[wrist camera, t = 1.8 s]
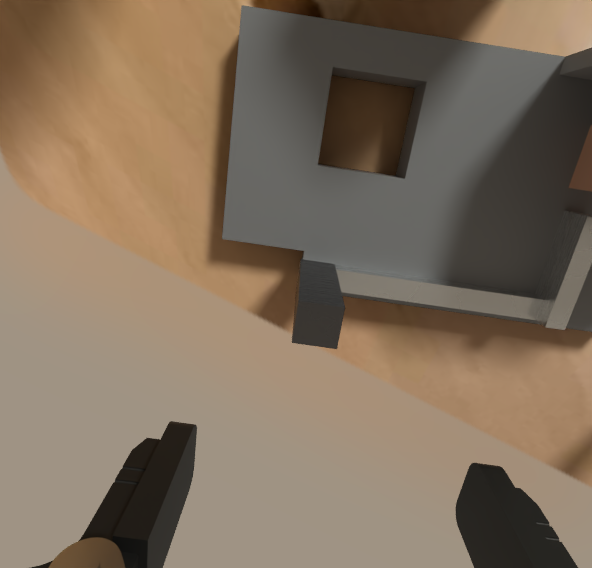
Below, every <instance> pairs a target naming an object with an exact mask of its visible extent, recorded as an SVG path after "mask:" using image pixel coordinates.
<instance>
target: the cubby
mask: <svg viewBox="0 0 592 568" xmlns="http://www.w3.org/2000/svg"><path fill="white" fill-rule="evenodd" d="M332 75H334V76H340V77H347V78H353V79H360V80H366V81H373V82H379V83H385V84H392V85H398V86H405V87H411V88H415V90H414V94H413V99H412V104H411V108H410V113H409V117H408V122H407V126H406V131H405V136H404V140H403V145H402V149H401V154H400V159H399V163H398V168H397V172H396V176H394V175H388V174H381V173H375V172H368V171H361V170H355V169H348V168H341V167H335V166H328V165H322V164H318V160H319V154H320V147H321V141H322V134H323V128H324V121H325V115H326V108H327V102H328V95H329V89H330V82H331V76H332ZM591 125H592V48H589V49H586V50H584V51H581V52H578V53H575V54H572V55H569V56H566V57H563V56H557V55H551V54H544V53H538V52H532V51H525V50H519V49H513V48H507V47H500V46H494V45H488V44H481V43H475V42H469V41H462V40H456V39H450V38H444V37H437V36H431V35H425V34H418V33H412V32H406V31H400V30H393V29H387V28H381V27H374V26H368V25H362V24H356V23H349V22H343V21H337V20H330V19H324V18H318V17H312V16H305V15H299V14H293V13H286V12H280V11H274V10H268V9H261V8H255V7H249V6H242V8H241V20H240V32H239V44H238V56H237V68H236V80H235V92H234V104H233V115H232V127H231V139H230V151H229V163H228V175H227V187H226V199H225V210H224V222H223V234H222V239H225V240H232V241H239V242H246V243H253V244H260V245H267V246H273V247H280V248H287V249H294V250H301V251H303V256H302V259H304V260H311V261H318V262H325V263H332V264H335V265H339V266H346V267H353V268H360V269H366V270H373V271H380V272H387V273H394V274H401V275H408V276H415V277H421V278H428V279H435V280H442V281H449V282H456V283H463V284H470V285H476V286H483V287H490V288H497V289H504V290H511V291H518V292H524V293H531V294H535V291H536V288H537V285H538V283H539V280H540V277H541V274H542V272H543V269H544V266H545V263H546V261H547V258H548V255H549V252H550V250H551V247H552V244H553V241H554V239H555V236H556V233H557V230H558V228H559V225H560V222H561V219H562V217H563V214H564V211H571V212H578V213H584V214H588V215H592V192H591V191H585V190H579V189H572V188H569V185H570V182H571V179H572V176H573V174H574V171H575V168H576V165H577V162H578V160H579V157H580V154H581V151H582V149H583V146H584V143H585V140H586V137H587V135H588V132H589V129H590V126H591ZM341 293H342V296H347V297H354V298H361V299H367V300H374V301H381V302H388V303H395V304H402V305H409V306H416V307H423V308H430V309H437V310H444V311H451V312H458V313H465V314H472V315H479V316H486V317H493V318H499V319H506V320H513V321H520V322H527V323H534V324H540V323H539V322H538V321H536V320H531V319H524V318H517V317H510V316H503V315H496V314H489V313H482V312H475V311H469V310H462V309H455V308H448V307H441V306H434V305H427V304H420V303H413V302H406V301H399V300H392V299H385V298H378V297H371V296H364V295H357V294H351V293H344V292H341ZM541 325H542V324H541ZM566 328H569V329H576V330H583V331H590V332H592V264H591V266H590V269H589V271H588V274H587V276H586V279H585V281H584V284H583V286H582V289H581V291H580V294H579V296H578V299H577V301H576V304H575V306H574V309H573V311H572V314H571V316H570V319H569V321H568V324H567V326H566Z"/></svg>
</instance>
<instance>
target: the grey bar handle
mask: <svg viewBox="0 0 592 568" xmlns="http://www.w3.org/2000/svg"><path fill="white" fill-rule="evenodd" d="M591 264H592V215H588V214H584V213H578V212H571V211H564V214H563V217H562V219H561V222H560V225H559V228H558V230H557V233H556V236H555V239H554V241H553V244H552V247H551V250H550V252H549V255H548V258H547V261H546V263H545V266H544V269H543V272H542V274H541V277H540V280H539V283H538V285H537V288H536V291H535V294H531V293H524V292H518V291H511V290H504V289H497V288H490V287H483V286H476V285H470V284H463V283H456V282H449V281H442V280H435V279H428V278H421V277H415V276H408V275H401V274H394V273H387V272H380V271H373V270H366V269H360V268H353V267H346V266H339V265H335V264H332V263H325V262H318V261H311V260H304V259H301V260H300V265H299V271H298V278H297V287H296V297H295V310H294V323H293V336H292V343H298V344H305V345H312V346H319V347H326V348H333V349H337V345H338V340H339V335H340V330H341V325H342V320H343V315H344V310H345V305H344V301H343V297H342V293H341V292H344V293H351V294H357V295H364V296H371V297H378V298H385V299H392V300H399V301H406V302H413V303H420V304H427V305H434V306H441V307H448V308H455V309H462V310H469V311H475V312H482V313H489V314H496V315H503V316H510V317H517V318H524V319H531V320H536V321H538V322H539V323H540V324H542V325H543V326H544V327H547V328H554V329H560V330H565V328H566V326H567V324H568V321H569V319H570V316H571V314H572V311H573V309H574V306H575V304H576V301H577V299H578V296H579V294H580V291H581V289H582V286H583V284H584V281H585V279H586V276H587V274H588V271H589V269H590V266H591Z"/></svg>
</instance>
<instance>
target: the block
mask: <svg viewBox="0 0 592 568" xmlns="http://www.w3.org/2000/svg"><path fill="white" fill-rule="evenodd" d="M569 188H572V189H579V190H585V191H591V192H592V125H591V126H590V129H589V132H588V135H587V137H586V140H585V143H584V146H583V149H582V151H581V154H580V157H579V160H578V162H577V165H576V168H575V171H574V174H573V176H572V179H571V182H570V185H569Z"/></svg>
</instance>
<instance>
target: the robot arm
mask: <svg viewBox="0 0 592 568" xmlns="http://www.w3.org/2000/svg"><path fill="white" fill-rule="evenodd" d="M196 433H197V427H196V425H194V424H186V423H179V422H172V421H171V422H169V424H168V426H167V428H166V430H165V432H164V434H163V436H162V438H161V440H159V439H152V438H147V439H145V440H144V441H143V442H142V443H140V444H139V445H138V446H137V447H135V448H134V449H133V450H132V451H131V453H130V455H129V456H128V458H127V460H126V462H125V463H124V465H123V468H122V469H121V470H120V472H119V474H118V475H117V477H116V479H115V482H114V483H113V484H112V486H111V488H110V489H109V491H108V493H107V495H106V497H105V498H104V500H103V502H102V503H101V505H100V507H99V509H98V510H97V512H96V514H95V516H94V517H93V519H92V521H91V522H90V524H89V526H88V528H87V529H86V531H85V533H84V535H83V536H82V537H81V539H80V540H79V541H78V542H76V543H74V544H72V545H70V546H69V547H67V548H66V549H64V550H63V551H62V552H61V553H60V554H59V555H58V556H57V557H56V558H55V559H54V560H53V561H51V562H49V563H46V564H43V565H40V566H36V567H32V568H163V565H164V562H165V559H166V556H167V553H168V550H169V548H170V545H171V542H172V539H173V536H174V533H175V530H176V527H177V524H178V521H179V518H180V515H181V513H182V510H183V507H184V504H185V501H186V498H187V495H188V492H189V489H190V485H191V481H192V477H193V471H194V461H195V460H194V459H195V447H196ZM456 520H457V524H458V527H459V530H460V533H461V535H462V538H463V540H464V543H465V545H466V548H467V550H468V553H469V555H470V558H471V560H472V563H473V565H474V568H578V567H577V565H576V564H575V562H574V561H573V559H572V558H571V556H570V554H569V553H568V551H567V550H566V548H565V547H564V545H563V544H562V542H559V538H558V536H557V534H556V533H555V531H554V530H553V528H552V527H550V526H549V522H548V520H547V519H546V517H545V516H544V514H543V513H542V511H541V509H540V508H539V506H538V505H537V504H536V503H535V502H534V501H533V500H532V499H531V498H530V497H529V496H528V495H527V494H526V493H525V492H524V491H523V490H521V489H520V488H515V487H514V485H513V483H512V482H511V480H510V479H509V477H508V475H507V474H506V472H505V471H504V469H503V468H502V467H500V466H494V465H487V464H478V463H472V464H471V465H470V467H469V469H468V472H467V475H466V477H465V480H464V483H463V486H462V489H461V491H460V494H459V497H458V500H457V504H456Z"/></svg>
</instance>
